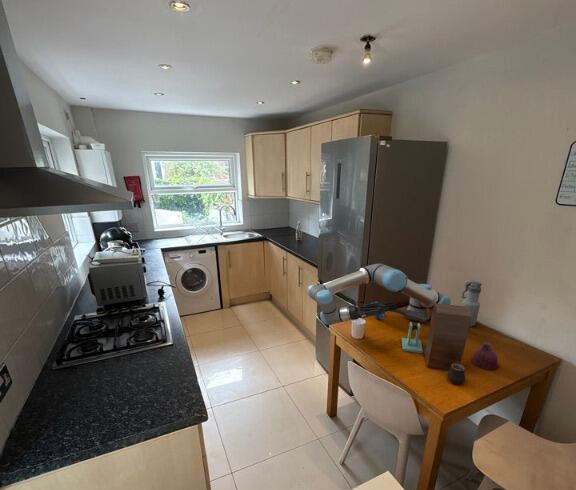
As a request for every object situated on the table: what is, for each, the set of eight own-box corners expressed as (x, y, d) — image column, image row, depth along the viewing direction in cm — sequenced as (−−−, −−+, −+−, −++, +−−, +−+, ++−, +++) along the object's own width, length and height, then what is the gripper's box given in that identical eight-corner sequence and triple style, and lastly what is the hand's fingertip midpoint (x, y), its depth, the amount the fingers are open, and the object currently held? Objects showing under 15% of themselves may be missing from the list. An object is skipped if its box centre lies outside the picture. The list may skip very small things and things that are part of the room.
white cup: (358, 340, 174) (359, 325, 170) (347, 335, 179) (349, 320, 176) (366, 336, 178) (368, 321, 175) (356, 331, 184) (357, 316, 181)
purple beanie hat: (483, 376, 148) (488, 354, 140) (467, 362, 157) (470, 340, 149) (501, 368, 149) (506, 346, 142) (484, 355, 158) (488, 333, 151)
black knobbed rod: (407, 329, 177) (408, 323, 178) (414, 330, 176) (414, 324, 177) (411, 330, 163) (411, 323, 163) (418, 331, 162) (418, 324, 162)
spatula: (378, 304, 156) (379, 301, 156) (423, 317, 152) (424, 314, 151) (378, 309, 150) (379, 306, 149) (425, 323, 146) (426, 320, 145)
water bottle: (454, 321, 197) (462, 281, 188) (464, 318, 201) (473, 279, 191) (468, 328, 189) (478, 286, 179) (478, 325, 192) (488, 283, 183)
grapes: (365, 318, 201) (367, 302, 197) (369, 315, 206) (371, 298, 202) (382, 323, 195) (384, 306, 190) (386, 319, 200) (388, 303, 195)
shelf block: (424, 354, 160) (434, 303, 150) (453, 359, 156) (465, 306, 146) (427, 367, 149) (437, 312, 139) (458, 372, 145) (471, 316, 135)
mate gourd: (456, 375, 143) (460, 357, 140) (468, 386, 136) (472, 367, 133) (442, 377, 142) (446, 359, 139) (453, 387, 135) (457, 369, 132)
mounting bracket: (401, 339, 175) (404, 318, 170) (420, 342, 172) (423, 320, 167) (402, 350, 164) (406, 328, 159) (422, 353, 161) (426, 330, 156)
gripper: (352, 313, 166) (396, 305, 158) (350, 326, 152) (398, 318, 144) (349, 301, 165) (393, 292, 156) (346, 312, 151) (395, 303, 142)
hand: (396, 305), depth 150 cm, fingers closed on spatula, 2 cm apart
